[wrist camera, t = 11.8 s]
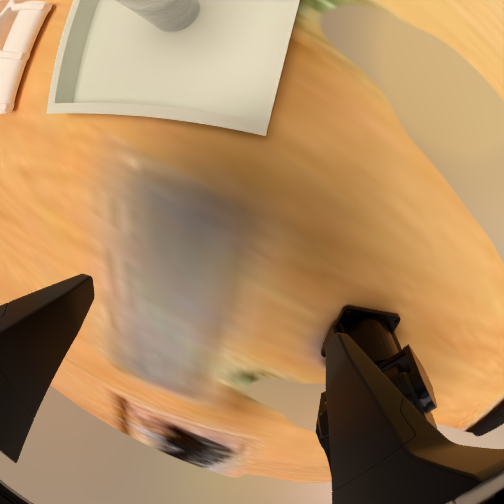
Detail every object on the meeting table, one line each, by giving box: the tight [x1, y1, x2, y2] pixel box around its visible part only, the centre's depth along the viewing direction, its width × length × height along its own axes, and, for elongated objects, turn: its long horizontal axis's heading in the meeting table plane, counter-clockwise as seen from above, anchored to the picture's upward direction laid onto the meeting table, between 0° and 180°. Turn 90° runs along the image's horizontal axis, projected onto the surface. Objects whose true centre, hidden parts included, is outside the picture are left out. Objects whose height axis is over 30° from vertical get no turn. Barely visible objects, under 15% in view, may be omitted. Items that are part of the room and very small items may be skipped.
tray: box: [47, 0, 300, 136], centre depth 13 cm, size 17×17×3 cm
